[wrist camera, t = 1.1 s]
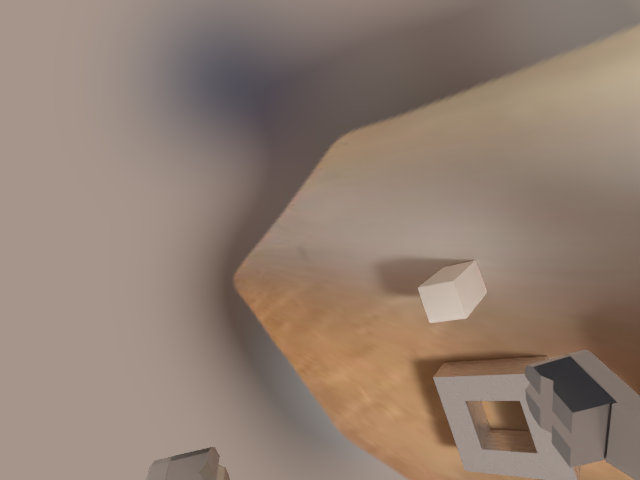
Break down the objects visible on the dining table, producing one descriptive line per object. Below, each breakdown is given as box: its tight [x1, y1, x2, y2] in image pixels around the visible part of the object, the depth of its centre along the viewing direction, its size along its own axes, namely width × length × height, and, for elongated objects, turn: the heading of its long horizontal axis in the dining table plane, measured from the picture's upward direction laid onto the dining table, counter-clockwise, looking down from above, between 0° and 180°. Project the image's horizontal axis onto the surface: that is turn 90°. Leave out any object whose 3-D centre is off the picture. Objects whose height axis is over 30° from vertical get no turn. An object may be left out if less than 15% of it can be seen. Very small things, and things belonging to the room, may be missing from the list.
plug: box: [418, 260, 487, 323], centre depth 45 cm, size 4×4×8 cm
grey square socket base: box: [433, 356, 581, 480], centre depth 47 cm, size 12×12×4 cm
